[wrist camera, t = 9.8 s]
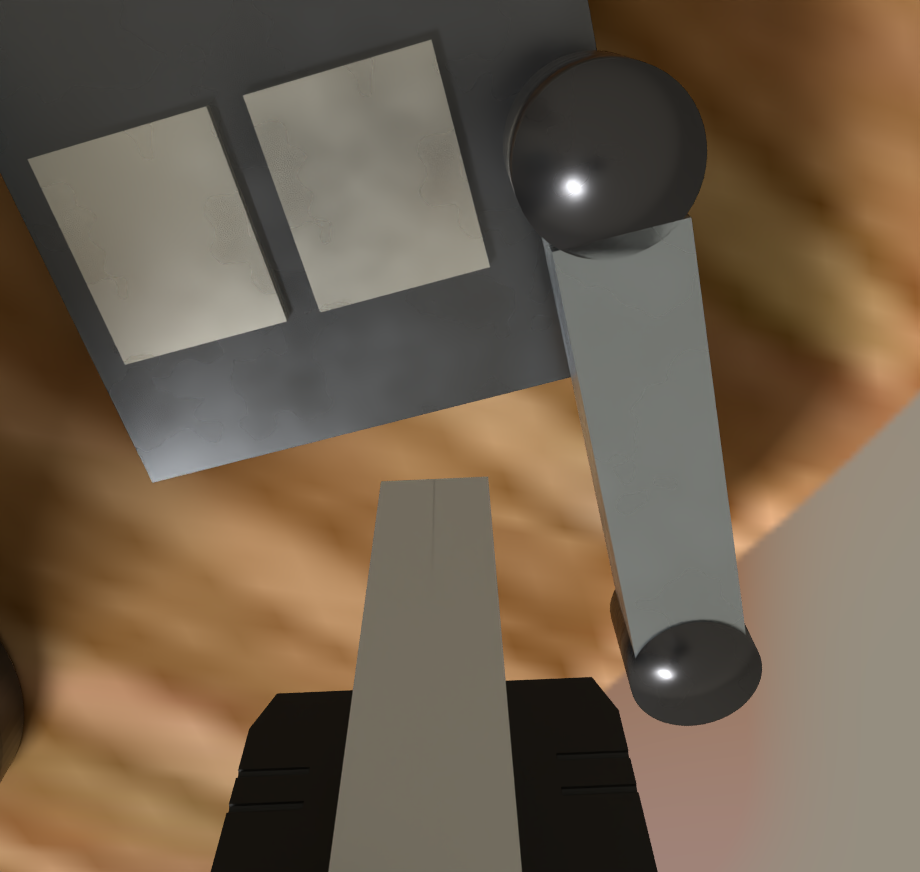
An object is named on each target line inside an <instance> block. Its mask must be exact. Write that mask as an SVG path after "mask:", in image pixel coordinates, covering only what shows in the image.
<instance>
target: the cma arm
mask: <svg viewBox="0 0 920 872" xmlns="http://www.w3.org/2000/svg"><path fill="white" fill-rule="evenodd" d="M503 156H504V162H505V167H506V170H507V174H508V177H509V179H510V182H511V185H512V187H513V190H514V192H515V195H516V198H517V200H518V203H519V205H520V207H521V210H522V212H523V214H524V215H525V217H526V219H527V220H528V222H529V223H530V225H531V226H532V227H533V228H534V230H535V231H536V232H537V233H538V234H539V235H540V236H541V237H542V241H543V246H544V250H545V255H546V260H547V265H548V270H549V274H550V279H551V284H552V289H553V293H554V298H555V303H556V308H557V313H558V317H559V322H560V327H561V332H562V336H563V341H564V346H565V351H566V356H567V360H568V365H569V370H570V375H571V379H572V384H573V389H574V394H575V399H576V403H577V408H578V413H579V418H580V422H581V427H582V432H583V437H584V442H585V446H586V451H587V456H588V461H589V465H590V470H591V475H592V480H593V485H594V489H595V494H596V499H597V504H598V508H599V513H600V518H601V523H602V528H603V532H604V537H605V542H606V547H607V551H608V556H609V561H610V566H611V571H612V575H613V580H614V585H615V591H614V593H613V596H612V599H611V604H610V613H611V619H612V622H613V626H614V630H615V633H616V637H617V640H618V644H619V648H620V651H621V655H622V659H623V662H624V666H625V670H626V673H627V677H628V680H629V684H630V688H631V691H632V694H633V697H634V699H635V701H636V703H637V704H638V705H639V707H640V708H641V709H642V710H643V711H644V712H646V713H647V714H648V715H650V716H651V717H653V718H655V719H657V720H659V721H662V722H665V723H669V724H674V725H681V726H693V725H701V724H706V723H710V722H714V721H716V720H720V719H722V718H724V717H726V716H728V715H730V714H732V713H733V712H735V711H736V710H738V709H739V708H740V707H742V706H743V705H744V704H745V703H746V702H747V701H748V700H749V699H750V697H751V696H752V695H753V693H754V692H755V690H756V689H757V686H758V684H759V682H760V679H761V673H762V663H761V658H760V655H759V652H758V650H757V648H756V646H755V644H754V642H753V640H752V638H751V636H750V634H749V632H748V629H747V627H746V625H745V623H744V617H743V609H742V601H741V594H740V586H739V579H738V571H737V563H736V555H735V548H734V540H733V533H732V525H731V517H730V510H729V502H728V494H727V487H726V479H725V471H724V464H723V456H722V448H721V441H720V433H719V425H718V418H717V410H716V402H715V395H714V387H713V379H712V372H711V364H710V356H709V349H708V341H707V334H706V326H705V318H704V311H703V303H702V295H701V288H700V280H699V272H698V265H697V257H696V249H695V242H694V234H693V226H692V219H691V217H690V216H689V215H688V214H687V213H688V212H689V210H690V208H691V207H692V205H693V204H694V202H695V199H696V197H697V195H698V193H699V191H700V188H701V185H702V182H703V179H704V174H705V169H706V160H707V141H706V134H705V129H704V125H703V122H702V119H701V116H700V113H699V111H698V109H697V107H696V105H695V103H694V101H693V100H692V98H691V97H690V95H689V94H688V92H687V91H686V90H685V89H684V88H683V87H682V86H681V85H680V84H679V82H677V81H676V80H675V79H674V78H673V77H671V76H670V75H669V74H667V73H666V72H664V71H662V70H661V69H659V68H657V67H655V66H652V65H650V64H647V63H645V62H642V61H638V60H635V59H632V58H629V57H626V56H622V55H619V54H616V53H612V52H607V51H598V50H589V51H580V52H575V53H570V54H568V55H565V56H562V57H559V58H557V59H555V60H553V61H551V62H550V63H548V64H547V65H545V66H544V67H542V68H541V69H539V70H538V71H537V72H536V73H535V74H534V75H533V76H532V77H530V79H529V80H528V81H527V82H526V83H525V84H524V85H523V87H522V88H521V90H520V91H519V93H518V94H517V96H516V97H515V99H514V101H513V103H512V105H511V107H510V110H509V113H508V116H507V119H506V123H505V127H504V134H503Z"/></svg>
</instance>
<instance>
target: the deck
mask: <svg viewBox="0 0 920 872" xmlns="http://www.w3.org/2000/svg"><path fill="white" fill-rule="evenodd" d="M589 50H597V49H596V43H595V38H594V32H593V27H592V21H591V16H590V10H589V5H588V0H0V173H1V175H2V177H3V179H4V181H5V183H6V185H7V187H8V189H9V191H10V193H11V195H12V198H13V200H14V202H15V204H16V206H17V208H18V210H19V212H20V214H21V216H22V218H23V220H24V222H25V224H26V226H27V228H28V230H29V232H30V234H31V236H32V238H33V240H34V242H35V244H36V246H37V248H38V250H39V253H40V255H41V257H42V259H43V261H44V263H45V265H46V267H47V269H48V271H49V273H50V275H51V277H52V279H53V281H54V283H55V285H56V287H57V289H58V291H59V293H60V295H61V297H62V299H63V301H64V303H65V305H66V307H67V310H68V312H69V314H70V316H71V318H72V320H73V322H74V324H75V326H76V328H77V330H78V332H79V334H80V336H81V338H82V340H83V342H84V344H85V346H86V348H87V350H88V352H89V354H90V356H91V358H92V360H93V362H94V365H95V367H96V369H97V371H98V373H99V375H100V377H101V379H102V381H103V383H104V385H105V387H106V389H107V391H108V393H109V395H110V397H111V399H112V401H113V403H114V405H115V407H116V409H117V411H118V413H119V415H120V417H121V419H122V422H123V424H124V426H125V428H126V430H127V432H128V434H129V436H130V438H131V440H132V442H133V444H134V446H135V448H136V450H137V452H138V454H139V456H140V458H141V460H142V462H143V464H144V466H145V468H146V470H147V472H148V474H149V477H150V479H151V481H152V483H153V482H157V481H161V480H165V479H169V478H173V477H177V476H181V475H185V474H189V473H193V472H197V471H201V470H205V469H209V468H213V467H217V466H220V465H224V464H228V463H232V462H236V461H240V460H244V459H248V458H252V457H256V456H260V455H264V454H268V453H272V452H276V451H280V450H284V449H288V448H292V447H296V446H300V445H304V444H308V443H312V442H316V441H320V440H323V439H327V438H331V437H335V436H339V435H343V434H347V433H351V432H355V431H359V430H363V429H367V428H371V427H375V426H379V425H383V424H387V423H391V422H395V421H399V420H403V419H407V418H411V417H415V416H419V415H422V414H426V413H430V412H434V411H438V410H442V409H446V408H450V407H454V406H458V405H462V404H466V403H470V402H474V401H478V400H482V399H486V398H490V397H494V396H498V395H502V394H506V393H510V392H514V391H518V390H522V389H525V388H529V387H533V386H537V385H541V384H545V383H549V382H553V381H557V380H561V379H565V378H569V377H571V375H570V370H569V365H568V360H567V356H566V351H565V346H564V341H563V336H562V332H561V327H560V322H559V317H558V313H557V308H556V303H555V298H554V293H553V289H552V284H551V279H550V274H549V270H548V265H547V260H546V255H545V250H544V246H543V241H542V237H541V236H540V235H539V234H538V233H537V232H536V231H535V230H534V228H533V227H532V226H531V225H530V223H529V222H528V220H527V219H526V217H525V215H524V214H523V212H522V210H521V207H520V205H519V203H518V200H517V198H516V195H515V192H514V190H513V187H512V185H511V182H510V179H509V177H508V174H507V170H506V167H505V162H504V156H503V134H504V127H505V123H506V119H507V116H508V113H509V110H510V107H511V105H512V103H513V101H514V99H515V97H516V96H517V94H518V93H519V91H520V90H521V88H522V87H523V85H524V84H525V83H526V82H527V81H528V80H529V79H530V77H532V76H533V75H534V74H535V73H536V72H537V71H538V70H539V69H541V68H542V67H544V66H545V65H547V64H548V63H550V62H551V61H553V60H555V59H557V58H559V57H562V56H565V55H568V54H570V53H575V52H580V51H589Z"/></svg>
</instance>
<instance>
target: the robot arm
mask: <svg viewBox="0 0 920 872" xmlns="http://www.w3.org/2000/svg"><path fill="white" fill-rule="evenodd" d="M23 724H24V706H23V697H22V692H21V687H20V684H19V680H18V677H17V674H16V672H15V669H14V667H13V664H12V662H11V660H10V658H9V656H8V654H7V652H6V650H5V648H4V647H3V645H2V643H1V642H0V782H1V781H2V779H3V777H4V775H5V774H6V772H7V770H8V768H9V766H10V765H11V763H12V761H13V759H14V757H15V755H16V753H17V750H18V747H19V744H20V741H21V737H22V732H23ZM238 771H239V774H238V778H236V780H235V784H234V788H233V791H232V795H231V799H230V802H229V813H226V817H225V821H224V825H223V828H222V832H221V836H220V839H219V843H218V847H217V851H216V854H215V858H214V862H213V865H212V869H211V872H657V867H656V863H655V859H654V855H653V851H652V846H651V843H650V838H649V834H648V830H647V826H646V822H645V818H644V813H643V809H642V805H641V801H640V797H639V793H638V792H637V788H636V780H635V776H634V772H633V768H632V764H631V760H630V758H629V755H628V747H627V743H626V739H625V735H624V731H623V727H622V723H621V718H620V714H619V710H618V709H617V708H616V707H615V705H614V704H613V703H612V701H611V700H610V699H609V698H608V697H607V695H606V694H605V693H604V692H603V690H602V689H601V688H600V687H599V685H598V684H597V683H596V682H595V680H594V679H593V678H592V677H584V678H561V679H538V680H515V681H505V669H504V658H503V646H502V635H501V623H500V611H499V600H498V588H497V577H496V565H495V554H494V542H493V530H492V519H491V507H490V496H489V484H488V477H471V478H448V479H426V480H404V481H382V482H381V487H380V494H379V501H378V509H377V516H376V524H375V531H374V538H373V546H372V553H371V561H370V568H369V575H368V583H367V590H366V598H365V605H364V612H363V620H362V627H361V635H360V642H359V649H358V657H357V664H356V672H355V679H354V686H353V690H350V691H327V692H304V693H280V694H276V696H275V697H274V698H273V699H272V701H271V702H270V703H269V705H268V706H267V707H266V708H265V710H264V711H263V712H262V713H261V715H260V716H259V717H258V719H257V720H256V721H255V722H254V724H253V725H252V726H251V727H250V729H249V732H248V736H247V739H246V743H245V747H244V750H243V754H242V758H241V762H240V765H239V769H238Z"/></svg>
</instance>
